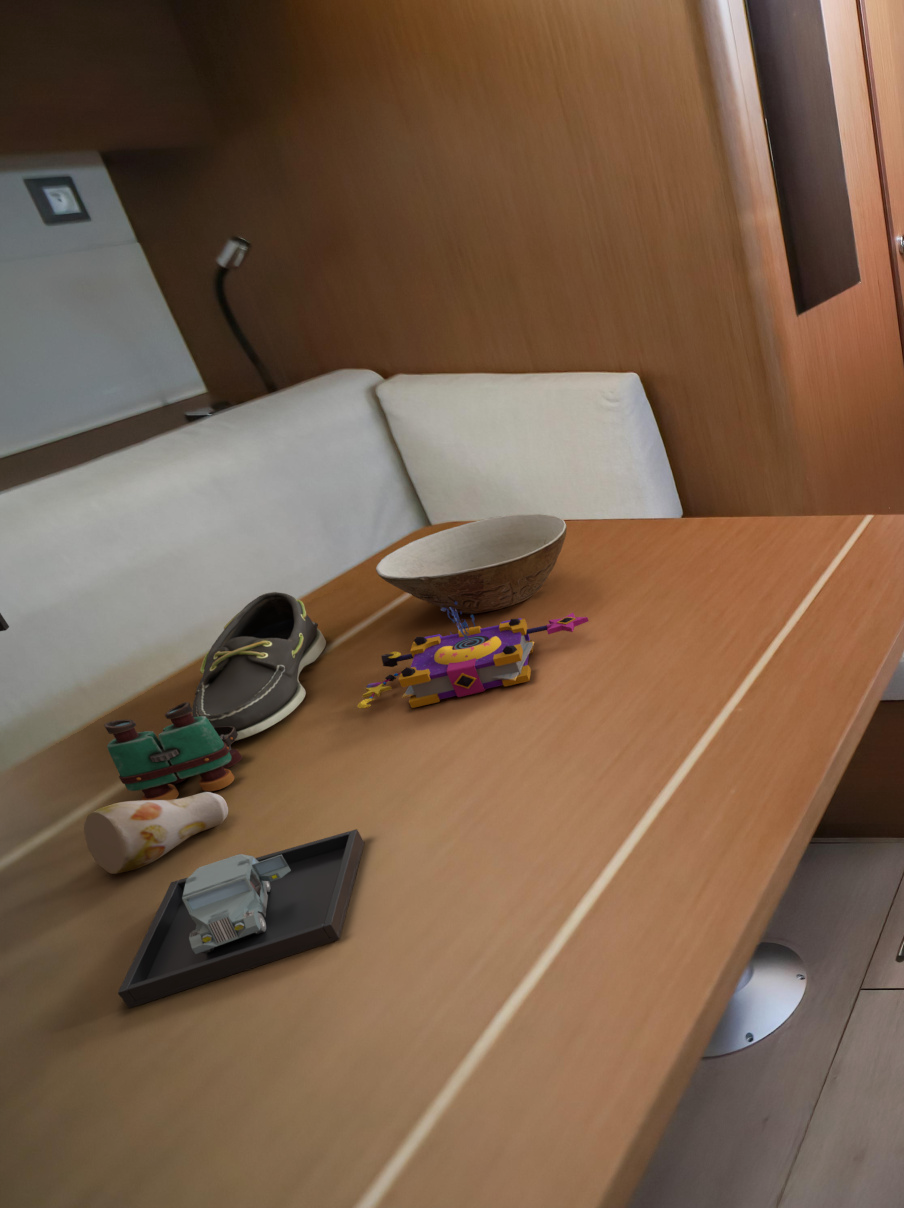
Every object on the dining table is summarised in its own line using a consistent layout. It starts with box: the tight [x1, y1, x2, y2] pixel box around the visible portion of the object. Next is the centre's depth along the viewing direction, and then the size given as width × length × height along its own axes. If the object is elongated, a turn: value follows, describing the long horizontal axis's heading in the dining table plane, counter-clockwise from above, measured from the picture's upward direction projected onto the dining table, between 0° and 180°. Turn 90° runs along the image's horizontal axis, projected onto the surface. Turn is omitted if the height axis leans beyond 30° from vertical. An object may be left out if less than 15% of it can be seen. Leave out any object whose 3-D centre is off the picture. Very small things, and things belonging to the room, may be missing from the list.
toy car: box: [182, 853, 291, 954], centre depth 91 cm, size 6×10×5 cm, turn 40°
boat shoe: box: [191, 591, 327, 742], centre depth 124 cm, size 11×29×9 cm, turn 38°
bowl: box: [375, 513, 568, 615], centre depth 148 cm, size 24×24×10 cm
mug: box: [83, 791, 229, 875], centre depth 100 cm, size 8×10×10 cm
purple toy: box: [357, 595, 590, 709], centre depth 128 cm, size 15×25×12 cm, turn 121°
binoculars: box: [103, 701, 243, 801], centre depth 108 cm, size 9×11×10 cm
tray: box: [117, 828, 365, 1009], centre depth 92 cm, size 14×15×2 cm
